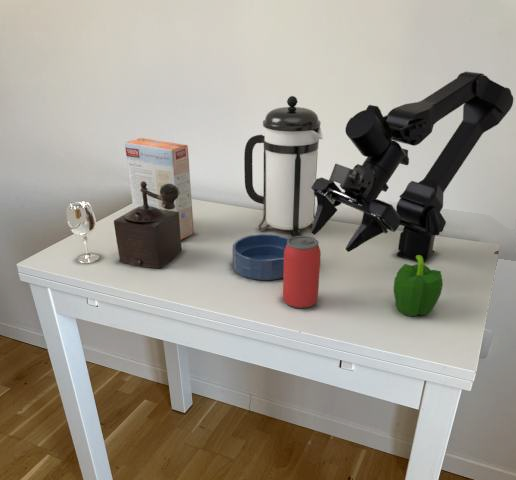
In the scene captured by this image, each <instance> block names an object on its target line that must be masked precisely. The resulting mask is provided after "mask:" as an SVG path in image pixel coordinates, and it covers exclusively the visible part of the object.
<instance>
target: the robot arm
mask: <svg viewBox="0 0 516 480" xmlns="http://www.w3.org/2000/svg"><path fill="white" fill-rule="evenodd" d="M513 105H514V96H513V94H512V90H511V89H510V88H509V87H504V86H503V85H501V84H499V83H498V82H496V81H493V80H491V79H490V78H489V77H488V76H487V75H485V74H484V73H481V72H473V71H472V72H471V71H464V72H461V73H459V74H458V75H457V77H455V78H454V79H453V80H452V81H450V82H448V83H446V84H445V85H443V86H442V87H441V88H439V89H437V90H436V91H434V92H433V93H431V94H430V95H428V96H426V97H424V99H422V100H420V101H415V102H410V103H404V104H402V105H400V106H397V107H393V108H392V109H391V110H389V112H388V113H387V114H386V115H383V114H382V111H381V109H380V107H379V106H378V105H373V104H369V105H368V106H367V107H366V109H364V110H361V111H359V112H357V113H356V114H354V115H353V116H352V117H350V118H349V120H348V121H347V123H346V126H345V130H344V131H345V134H346V136H347V137H348V139H349V140H350V141H351V142H352V144H353V145H354V146H355V148H356V149H357V151H358V152H359V153H360V155H362V156H363V157H366V158H365V160H364V161H363V162H362V164H359V163H357V164H355V165H354V166H353V168H349V167H347V166H344V165H341V164H339V163H335V164H334V165H333V169H332V172H331V174H330V177H329V179H327V178H325V177H322V176H321V177H319V178H316V181H315V182H314V184H313V185H312V187H311V188H312V189H313V190H314V195H315V198H316V203H317V205H316V211H315V214H314V217H315V219H314V218H313V221H312V224H313V226H312V225H311V226H312V227H311V230H310V232H311V234H312V235H313V236H314V235H317V234H318V233H319V232H320V231H321V230H322V228H324V226H325V225H327V223H328V222H329V221H330V220H331V219H332V217H334V215H335V213H337V212H338V208H337V207H338V206H341V205H342V204H343V205H346V206H348V207H350V208H352V209H355V210H358V211H360V212H362V219H361V222H360V224H359V226H358V228H357V229H356V230H355V231H354V233H353V235H352V237H351V238H350V239H349V241H348V243H347V244H346V246H345V251H347V252H348V253H350V252H351V251H353V250H355V249H356V248H358V247H359V246H361V245H362V244H364V243H366V242H368V241H369V240H372V239H373V238H375V237H378V236H379V235H381V234H388V233H389V231H390V232H393V233H395V232H396V231H397V230H398V228H399V227H400V226H401V227H403V229H402V232H400V233H399V234H400V235H399V241H398V247H397V250H398V252H397V253H396V256H397V257H400V258H405V259H409V260H412V261H416V262H418V260H417V259H416V256H417V255H421V256H422V257H423V262H424V263H426V262H427V261H428V260H429V259H430V258H431V257H432V256H433V255H434V254H435V250H433V249H434V244H435V239H436V236H440V233H442V232H443V231H444V229H445V227H446V224H447V221H446V219H445V218H444V216H443V215H442V213H441V211H442V210H443V208H444V193H445V191H446V189H447V188H448V187H449V185H450V183H451V182H452V180H453V179H454V177H455V176H456V174H457V173H458V172H459V170H460V168H461V167H462V165H463V164H464V163H465V161H466V159H467V158H468V156H469V155H470V154H471V152H472V151H473V149H474V147H475V146H476V144H477V143H478V141H479V140H480V139H481V137H482V136H483V134H484V133H486V132H487V131H489V130H491V129H493V128H495V127H496V126H498V125H499V124H500V123H501V122H502V120H503V119H504V118H505V117H506V115H508V113H509V112H510V111H511V109H512V107H513ZM461 106H462V120H461V122H460V123H459V125H458V127H457V128H456V129H455V131H454V133H453V134H452V136H451V137H450V139H449V140H448V141H447V143H446V144H445V146H444V147H443V149H442V151H441V152H440V154H439V155H438V157H437V158H436V160H434V162H433V164H432V166H431V167H430V168H429V171H428V172H427V173H426V175H425V176H424V178H423V179H421V180H420V181H418V182H417V181H414V180H411V181H410V182H409V183H407V186H406V188H405V189H404V191H403V192H402V193H401V194H399V200H398V201H397V203H396V208H395V207H394V206H393V204H390V203H389V202H386V201H384V200H380V199H378V197H379V196H380V194H381V192H384V193H387V191H388V190H389V188H390V186H388V184H387V183H388V182H389V180H390V179H391V178H392V176H393V174H394V173H395V171H396V170H397V169H398V167H399V165H404V166H409V164H410V157H409V149H406V148H403V147H402V146H401V145H400V143H401V144H406V145H409V146H414V147H415V146H418V145H420V144H421V143H422V142H423V141H424V140H425V139H426V138H428V137H429V136H430V134H432V132H433V129H434V126H435V124H436V123H438V122H439V121H440V120H442V119H444V118H445V117H446V116H448V115H450V113H453V112H454V111H456V110H457V109H458V108H460V107H461ZM336 183H337V184H339V186H338V185H337V184H336ZM340 188H341V189H340ZM342 190H344V191H342Z"/></svg>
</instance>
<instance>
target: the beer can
mask: <svg viewBox="0 0 516 480" xmlns="http://www.w3.org/2000/svg"><path fill="white" fill-rule="evenodd" d="M289 238H290V239H289V240H288V241H287V246H286V248H285V251H284V273H283V278H282V299H283V302H284V303H285V304H286V305H288V306H290V307H292V308H296V309H306V308H310V307H313V306H315V305H316V303H317V302H318V299H319V287H320V274H321V273H320V272H321V258H322V257H321V255H322V254H321V253H322V252H321V248H320V245H319V240H318V239H317V238H315V237H312V236H310V235H309V236H308V235H299V236H295V237H292V236H291V237H289Z"/></svg>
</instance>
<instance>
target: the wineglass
mask: <svg viewBox="0 0 516 480" xmlns="http://www.w3.org/2000/svg"><path fill="white" fill-rule="evenodd" d="M95 215H96V214H95V213H94V209H93V207H92V205H91V203H90V202H87V201H75V202H71V203H68V204H67V205H66V222H67V223H66V224H67V226H68V229H69V230H70V231H71V232H72V233H73V234H74V235H77V236H82V242H83V244H84V247H85V254H84V255H81V256H79V257H78V259H77V261H78V262H79V263H82V264H91V263H95V262H97V261H98V260H99V259H100V256H99V255H97V254H94V253H92V254H91V253H90V252H89V246H88V241H89V240H88V239H89V238H88V237H87V236H88V235H90V234H91V233H93V232H94V231H95V230H96V227H97V219H96V216H95Z"/></svg>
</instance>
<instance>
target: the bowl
mask: <svg viewBox="0 0 516 480" xmlns="http://www.w3.org/2000/svg"><path fill="white" fill-rule="evenodd" d="M290 238H291V237H288V236H283V235H281V234H280V235H279V234H270V233H257V234H252V235H251V234H250V235H247V236H244V237H241V238H240V239H238V240H237V239H236V240H235V242H234V243H233V244H232V248H231V250H232V269H233V270H234V272H236V273H237V274H239V275H240V276H242V277H245V278H249V279H252V280H259V281H271V280H279V279H283V273H284V251H285V248H286V246H287V241H288V240H289V239H290Z"/></svg>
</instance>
